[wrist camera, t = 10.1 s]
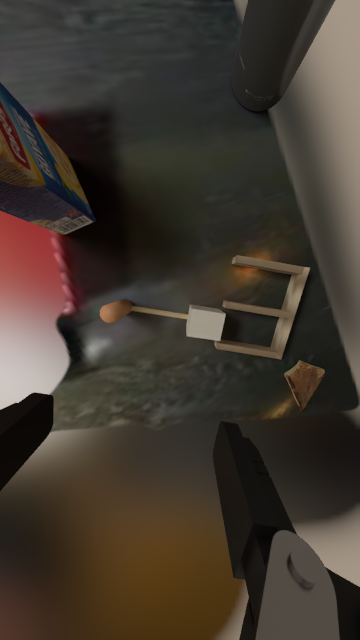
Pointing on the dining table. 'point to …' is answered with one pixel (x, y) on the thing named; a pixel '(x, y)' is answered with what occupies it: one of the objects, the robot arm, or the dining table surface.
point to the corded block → (199, 318)
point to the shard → (304, 381)
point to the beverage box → (37, 174)
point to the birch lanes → (284, 315)
